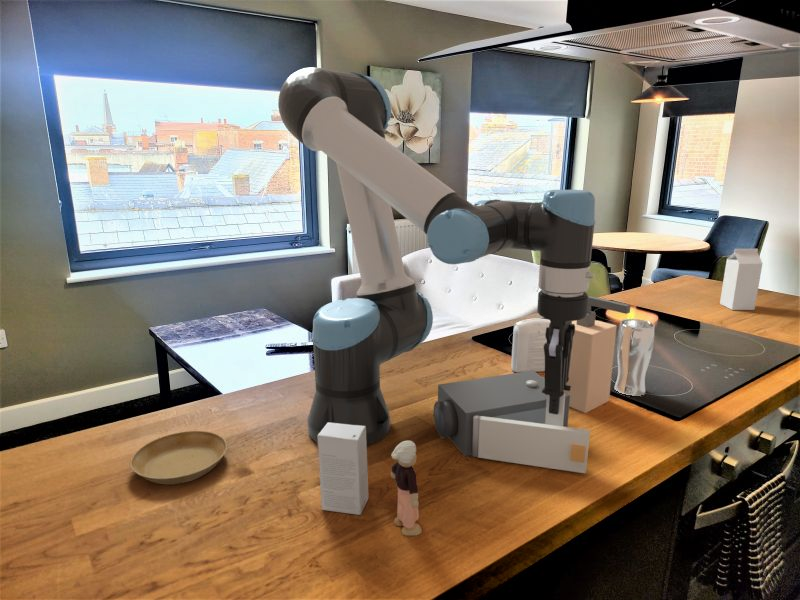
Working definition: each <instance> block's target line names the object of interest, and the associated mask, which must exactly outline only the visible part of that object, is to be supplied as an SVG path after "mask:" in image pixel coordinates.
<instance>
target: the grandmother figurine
mask: <svg viewBox="0 0 800 600" xmlns="http://www.w3.org/2000/svg"><path fill="white" fill-rule="evenodd" d="M416 452H417V445H416V444H415V442H414V441H412V440H403V441H401V442H400V443H398V444H397V445H396V446H395V448H394V450H393V451H392V452H391V455H390V456H391V457H392V459H393V460H397V461H396V462H395V463H394V464H392V465H391V472H390V477H391V478H392V479H395V484H396V486H397V512H396V513H397V517H395V518H394V520H393V523H394V524H395V526H397V527H402V528H401V534H402V535H404V536H407V537H409V536H420V535H421V534H422V532H423V530H422V527H421V525H420V524H419V523H418V522H416V521H418V520H419V518H420V514H419V513H420V512H419V487H418V483H417V482H418V481H417V472H416V471H415V468H414V467H413V466H414V465H415V464H416V461H417V454H416Z"/></svg>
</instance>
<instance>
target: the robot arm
mask: <svg viewBox="0 0 800 600" xmlns="http://www.w3.org/2000/svg"><path fill="white" fill-rule="evenodd" d="M277 101H278V104H277V105H278V113H279V116H280V119H281V121H282V123H283V125H284V127H285V128H286V129H287V131H288V132H289V133H290V134H291V135H292V136H293V137H294V138H296V140H297V141H299V142H300V143H301V144H302V145H303V146H305V147H306V148H307V149H309V150H310V151H313V152H320V151H321V152H322V153H323V154H325V155H326V156H327V157H329V158H330V159H331V160H332V161H334V162H335V163H336V167H337V173H338V177H339V183H340V186H341V192H342V196H343V197H342V198H343V200H344V204H345V210H346V214H347V220H348V224H349V225H348V226H349V228H350V233H351V237H352V242H353V247H354V248H353V249H354V250H355V251H354V253H355V256H356V257H355V258H356V262H357V266H358V271H359V275H360V278H361V279H360V280H361V284H360V287H359V288H358V290H357V291H356V294H355V295H356V297H353V298H352V297H351V298H346V299H344V300H343V299H338V300H334V301H332V302H329V303H327V304H324V305H323V306H321V307H320V308H319V309H318V310H317V311H316V313H315V314H314V316H313V319H312V333H311V340H312V348H313V361H314V364H313V365H314V377H315V378H314V381H315V392H314V397H313V398H312V399H313V400H312V403H311V407H310V409H309V414H308V416H307V432H308V436H309V437H310V438H311V439H312V440H313V441H314V442H316V443H318V439H317V435H318V434H319V433H320V432H321V430H322V429H323V428H324V427H325V425H326V424H327V423H328V422H329V423H339V424H349V425H359V426H366V444H367V446H369V445H372V444H374V443H377V442H379V441H380V440H382V439H383V438H385V437H386V436H387V434H388V433H389V432H390V429H391V416H390V415H391V414H390V412H389V409H388V407H387V406H388V405H387V403H386V401H385V397H384V395H383V393H382V389H381V380H380V379H381V374H380V373H381V372H380V371H381V367H380V366H381V365H382V364H384V363H387V362H388V361H390V360H392V359H395V358H396V357H398V356H400V355H402V354H404V353H408V352H411V351H412V350H414V349H415V348H417V347H418V346H419V345H420V344H422V343H423V342H424V341H425V340H426V339H427V337H429V335H430V333H431V331H432V327H433V323H434V316H433V315H434V314H433V309H432V306H431V304H430V302H429V300H428V299H427V298H426V297H424V294H423V293H421V292H420V291H418V290H417V288H416V282H415V280H414V279H413V278H411V277H409V276H408V275H407V274H406V273H405V272H406V271H405V268H404V264H403V258H402V254H401V253H402V252H401V248H400V243H399V238H398V234H397V229H396V223H395V219H394V215H393V209H394V210H395V211H397V212H398V213H399V214H401V215H402V217H404V218H406V220H408V221H409V222H410V223H412V224H413V225H414V226H415V227H417V228H418V229H419V230H420V231H422V232H423V233H424V234H425V235H426V238H427V244H428V246H429V248H430V251H431V252H432V255H433V257H435V258H436V259H437V260H438V261H440V262H442V263H444V264H447V265H459V264H465V263H471V262H475V261H477V260H478V259H481V258H483V257H485V256H489V255H492V254H495V253H499V252H501V251H502V252H503V251H505V250H510V249H512V250H513V249H514V250H523V251H525V250H526V251H527V250H528V251H533V252H534V251H535V252H537V251H538V252H539V253H540V254H539V255H540V257H539V258H540V259H539V260H540V261H539V270H538V273H539V274H538V285H537V286H538V288H539V289H540V291H538V293H537V309H536V310H537V311H536V312H537V314H538V315H539V316H541V317H542V318H543V319H548V320H550V322H551V323H550V324H549V327H547V328H546V335H545V337H546V339H547V343H545V344H544V354H545V371H544V378H545V388H544V389H543V390H542V393H545V394H546V395H547V401H546V417H545V424H548V425H556V426H563V421H564V408H565V394H566V392H564V391H563V390H566V391H570V389H571V386H568V385H566V382H568V381H569V368H570V359H571V350H572V343H573V336H574V334H575V324H572V321H576V320H581V319H583V318H585V317H586V315H587V307H588V296H589V295H588V293H587V291H589V289H590V288H589V287H590V279H594V278H595V274H594V272H593V271H590V270H591V263H592V260H591V259H592V251H593V242H594V241H593V240H594V232H595V225H596V219H595V216H596V215H595V212H596V209H595V207H596V206H595V205H596V204H595V203H596V198H595V196H594V194H593V193H592V192H591V191H588V190H586V189H585V190H584V189H552V190H551V189H549V190H547V191H545V192H544V194H543V199H542V201H540V202H530V201H529V202H528V201H526V202H525V201H512V200H501V199H497V198H496V199H489V200H488V199H486V200H483V199H481V200H477V201H476V202H474V204H472V203H471V202H470V201H469V200H467V199H466V198H464V197H463V196H461V195H460V194H459V193H457V192H456V191H455V190H454V189H452V188H451V187H450V186H448V185H447V184H446V183H445V182H442V181H441V180H440V179H439V178H437V176H435V175H434V174H432V172H431V173H430V172H429V171H428V170H427V169H426V168H425V167H422V165H420V164H419V163H417V162H416V161H414V160H413V159H412V158H410V157H409V156H408V155H407V154H405V153H404V152H402V151H401V150H400V149H399V148H398V147H396V146H395V145H393V144H392V143H390V142H389V141H388V140H386V133H385V131H387V129H388V126H389V121H391V118H392V117H391V116H392V106H391V100H390V97H389V95H388V93H387V91H386V89H385V87H384V86H383V85H382V84H381V83H380V82H379V81H378V80H376V79H375V78H373V77H372V76H371V77H370V76H368V75H365V74H363V73H360V72H357V71H356V72H354V71H353V72H352V71H350V72H348V71H347V72H346V71H340V70H335V69H334V70H331V69H327V68H322V67H315V66H312V67H310V66H309V67H303V68H301V69H298V70H297V71H295V72H293V73H292V74H290V75H289V77H287V78H286V80H285V81H284V83H283V84H282V86H281V88H280V91H279V95H278V100H277ZM392 208H393V209H392Z"/></svg>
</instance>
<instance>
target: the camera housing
mask: <svg viewBox="0 0 800 600" xmlns="http://www.w3.org/2000/svg"><path fill="white" fill-rule="evenodd" d="M544 388H545V377H543V376H542V375H540V373H538V372H535V371H526V372H515V373H514V372H512V373H506V374H501V375H494V376H488V377H487V376H486V377H479V378H474V379H473V378H472V379H465V380H459V381H454V382H453V381H452V382H446V383H439V384H437V401H435V402H434V405H433V422H434V426H435V430H436V431H437V433H438V435H439V437H441V438H442V439H446V438H447V439H449V440H450V441H451V440H452V443H453V445H455V446H456V448H457V449H458V450H459V451H460V452H461V454H462V455H463V456H464V457H468V456H472V442H473V417H474V416H485V417H493V418H501V419H509V420H517V421H524V422H532V423H540V424H545V417H546V401H547V395H546V394H545V393H542V390H543V389H544ZM569 402H570V395H568V394H567V393H566V394H565V408H564V421H563V426H564V427H569V426H568V423H569V413H570V412H569V411H570V407H569Z"/></svg>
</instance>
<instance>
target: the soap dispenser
mask: <svg viewBox="0 0 800 600" xmlns="http://www.w3.org/2000/svg"><path fill="white" fill-rule="evenodd" d="M592 307H597V308H600V309H604V310H608V311H609V310H610V311H613V312H618V313H621V314H626V315H628V314H630V313H631V304H627V303H623V302H618V301H614V300H610V299H606V298H600V297H596V296H591V295H588V307H587V315H586V317H585V318H583V319H581V320H576V321H572V324H575V334H574V336H573V343H572V350H571V359H570V368H569V381H568V382H566V385H568V386H571V389H570V391H566V390H563V391H564V392H566V393H567V394H568V395H570V402H569V408H571V409H574V410H576V411H579V412H581V413H584V414H586V413H589V412H590V411H592V410H594V409H597V408H598V407H600V406H602V405H604V404H605V403H608V402H609V401H610V395H611V385H612V384H611V383H612V374H613V363H614V355H615V354H614V353H615V348H616V346H615V345H616V336H617V325H616V324H612V323H609V322H604V321H602V320H596V312H595V311H592Z"/></svg>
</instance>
